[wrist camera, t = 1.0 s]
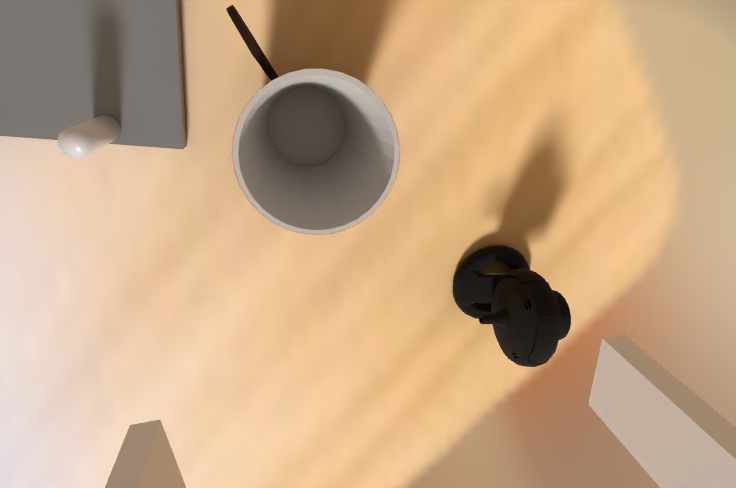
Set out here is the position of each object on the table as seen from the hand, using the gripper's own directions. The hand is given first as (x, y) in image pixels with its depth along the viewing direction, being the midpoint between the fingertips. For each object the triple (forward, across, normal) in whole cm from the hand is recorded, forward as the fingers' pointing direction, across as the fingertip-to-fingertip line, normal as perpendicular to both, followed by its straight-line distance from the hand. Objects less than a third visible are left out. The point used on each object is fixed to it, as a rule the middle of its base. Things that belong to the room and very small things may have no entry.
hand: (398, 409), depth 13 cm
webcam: (+23, +14, -11) cm, 29 cm away
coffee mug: (+23, -1, +6) cm, 24 cm away
